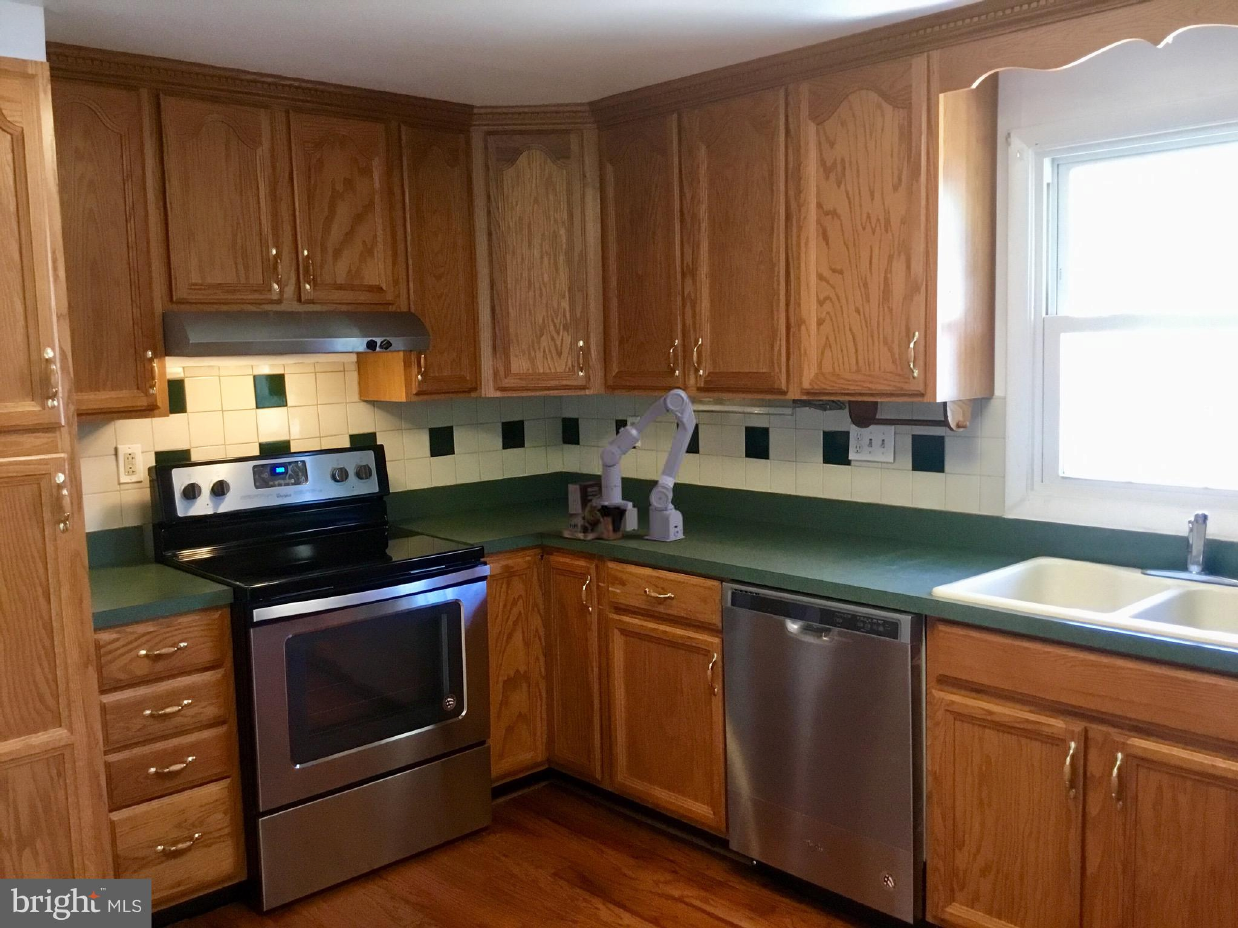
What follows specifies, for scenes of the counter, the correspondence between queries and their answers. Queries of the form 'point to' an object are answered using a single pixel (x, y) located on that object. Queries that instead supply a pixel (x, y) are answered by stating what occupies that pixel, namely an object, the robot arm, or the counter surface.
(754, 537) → the counter surface
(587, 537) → the carton sled
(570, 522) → the coffee box
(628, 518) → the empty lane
